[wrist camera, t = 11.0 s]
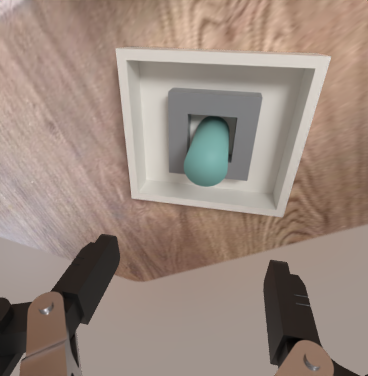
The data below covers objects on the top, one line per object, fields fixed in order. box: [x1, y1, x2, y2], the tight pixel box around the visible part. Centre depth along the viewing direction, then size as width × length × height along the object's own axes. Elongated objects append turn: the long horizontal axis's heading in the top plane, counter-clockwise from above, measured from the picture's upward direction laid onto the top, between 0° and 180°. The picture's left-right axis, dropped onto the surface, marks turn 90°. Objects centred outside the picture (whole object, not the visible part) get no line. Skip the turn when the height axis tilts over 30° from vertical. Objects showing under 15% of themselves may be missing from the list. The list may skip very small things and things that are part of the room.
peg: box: [184, 116, 229, 187], centre depth 27 cm, size 4×4×10 cm
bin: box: [116, 46, 331, 217], centre depth 30 cm, size 20×18×4 cm
